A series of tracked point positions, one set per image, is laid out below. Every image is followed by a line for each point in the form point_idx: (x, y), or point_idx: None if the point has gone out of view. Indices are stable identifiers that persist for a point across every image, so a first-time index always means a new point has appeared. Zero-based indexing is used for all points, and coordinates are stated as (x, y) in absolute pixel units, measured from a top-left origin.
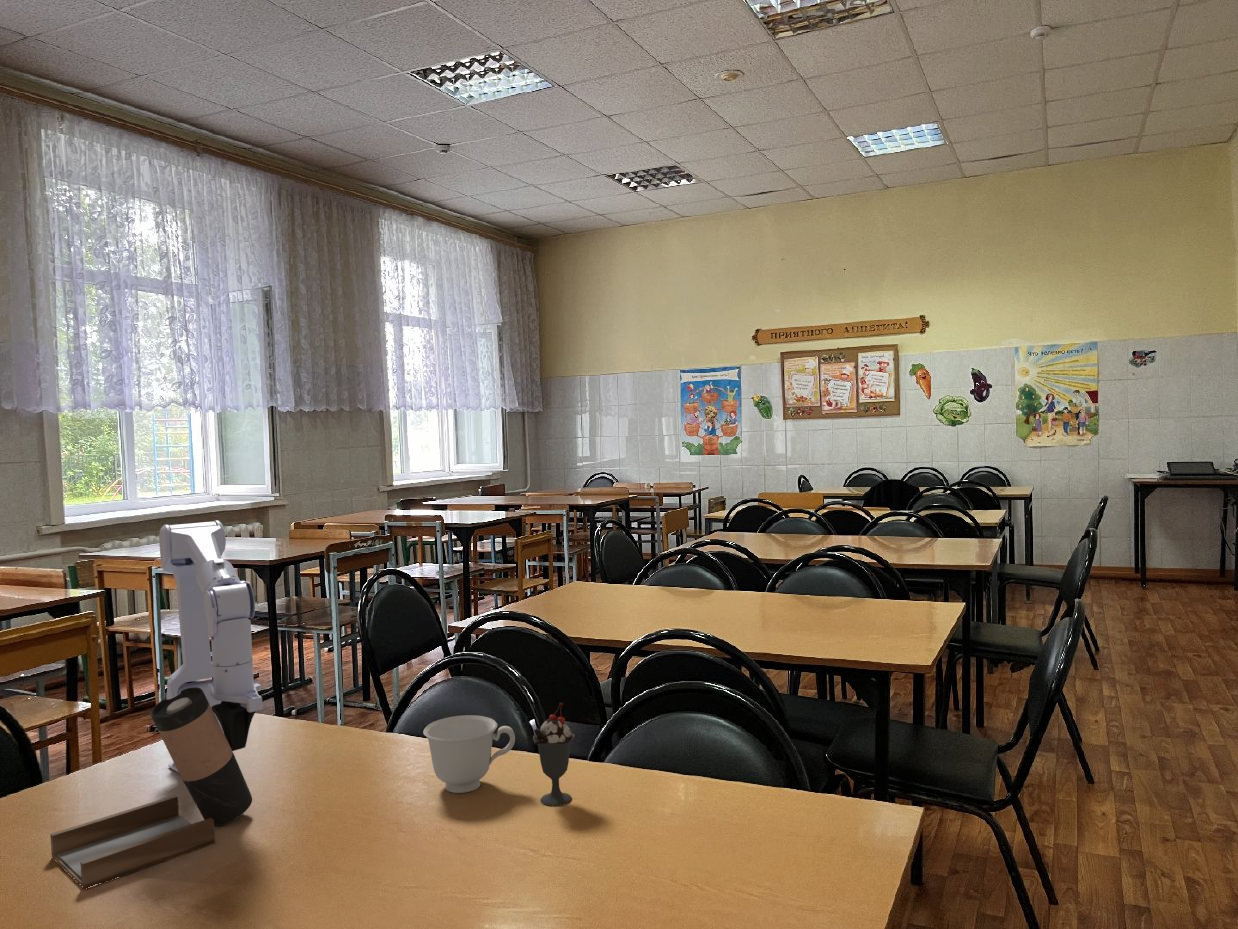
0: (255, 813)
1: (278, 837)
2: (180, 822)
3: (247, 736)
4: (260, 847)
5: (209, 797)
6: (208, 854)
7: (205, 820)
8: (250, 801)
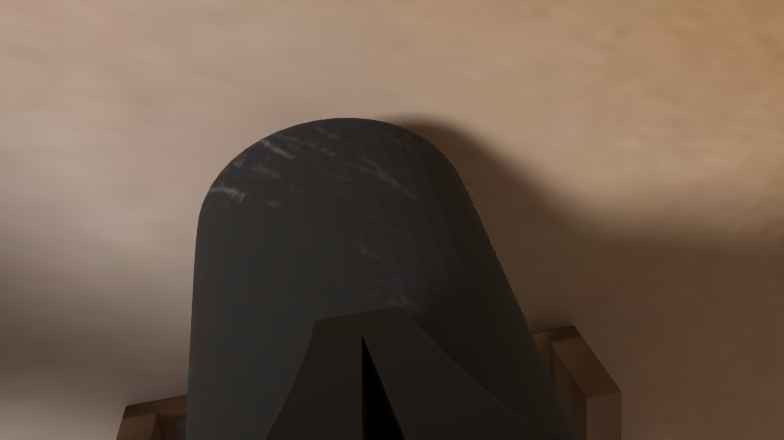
0: (368, 83)
1: (753, 86)
2: None
3: (440, 349)
4: (775, 184)
5: None
6: (650, 364)
7: (599, 423)
8: (429, 147)
